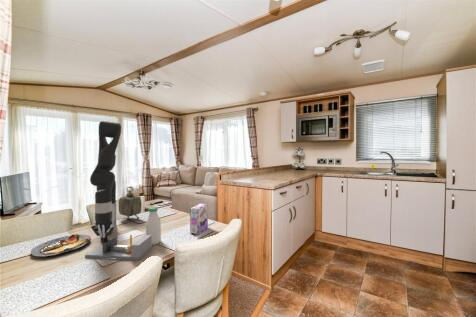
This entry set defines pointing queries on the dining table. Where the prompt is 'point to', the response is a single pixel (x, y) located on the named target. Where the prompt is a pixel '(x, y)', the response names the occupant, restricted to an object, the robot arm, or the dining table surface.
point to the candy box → (198, 218)
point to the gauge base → (137, 251)
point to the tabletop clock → (130, 204)
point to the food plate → (61, 245)
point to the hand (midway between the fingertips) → (104, 243)
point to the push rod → (113, 245)
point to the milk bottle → (153, 226)
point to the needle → (129, 245)
